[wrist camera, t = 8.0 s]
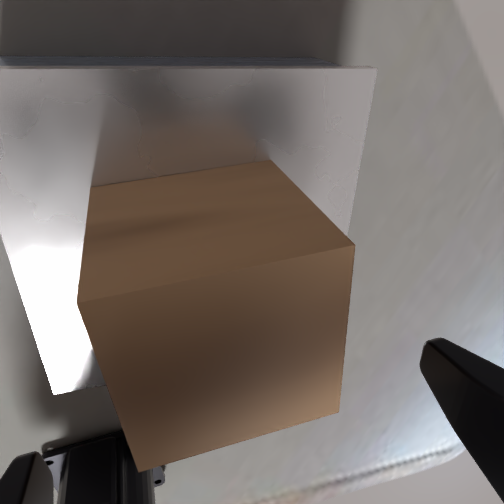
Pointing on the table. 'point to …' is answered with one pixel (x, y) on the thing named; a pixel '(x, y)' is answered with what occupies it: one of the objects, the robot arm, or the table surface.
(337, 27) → the table surface
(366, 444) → the table surface
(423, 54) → the table surface
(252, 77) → the slate tin
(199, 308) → the walnut block
